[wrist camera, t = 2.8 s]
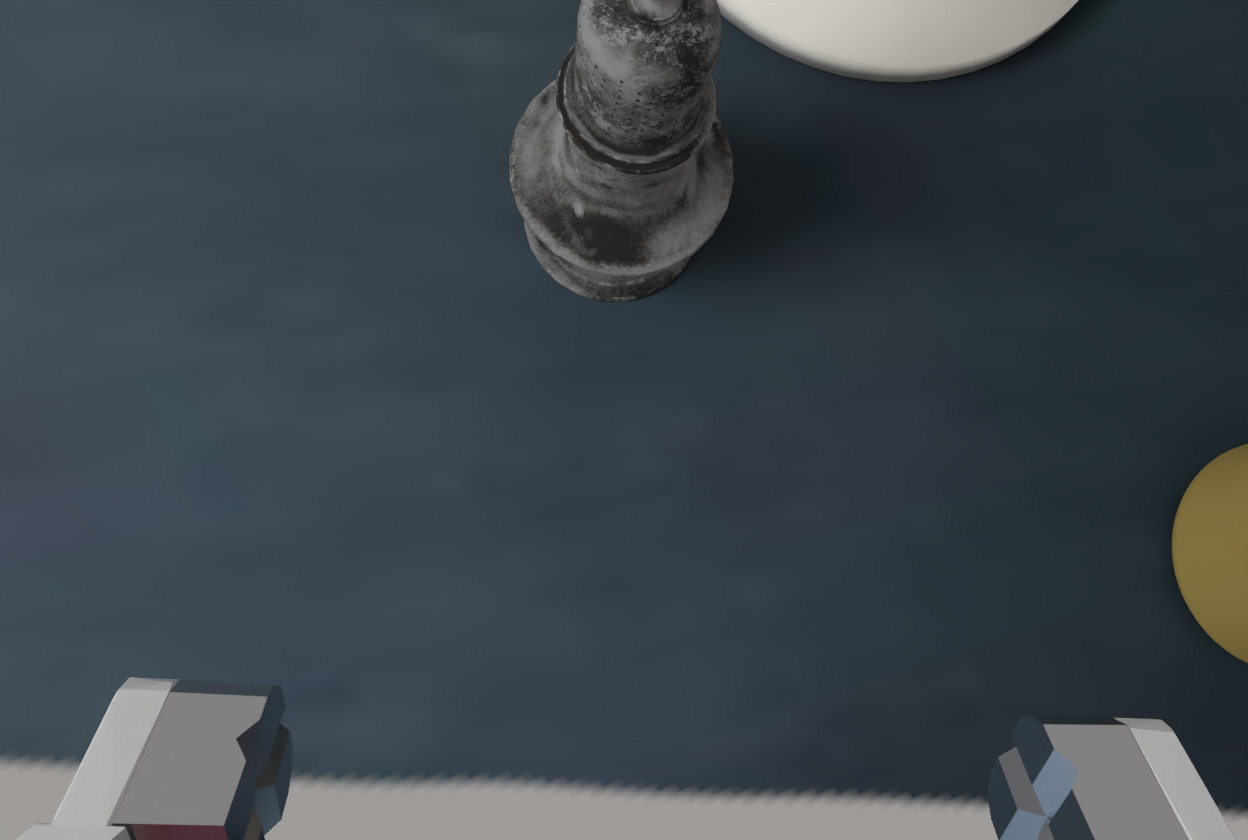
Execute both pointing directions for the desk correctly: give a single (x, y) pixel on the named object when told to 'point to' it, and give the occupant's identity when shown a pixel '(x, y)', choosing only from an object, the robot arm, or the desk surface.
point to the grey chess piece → (625, 149)
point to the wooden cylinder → (1216, 550)
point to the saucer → (896, 33)
